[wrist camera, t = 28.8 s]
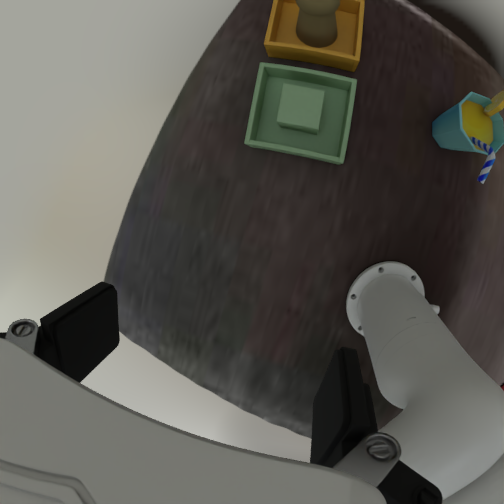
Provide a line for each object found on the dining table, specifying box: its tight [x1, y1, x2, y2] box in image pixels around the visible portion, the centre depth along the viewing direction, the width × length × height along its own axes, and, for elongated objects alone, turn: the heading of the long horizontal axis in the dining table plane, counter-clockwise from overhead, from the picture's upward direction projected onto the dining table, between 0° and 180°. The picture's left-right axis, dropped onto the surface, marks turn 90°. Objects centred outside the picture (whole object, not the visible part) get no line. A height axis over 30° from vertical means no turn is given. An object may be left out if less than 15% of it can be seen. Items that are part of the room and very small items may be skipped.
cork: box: [295, 0, 340, 48], centre depth 25 cm, size 6×6×11 cm
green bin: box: [244, 62, 357, 165], centre depth 33 cm, size 12×11×4 cm
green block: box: [276, 84, 325, 135], centre depth 32 cm, size 5×5×5 cm
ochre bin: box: [264, 0, 364, 72], centre depth 29 cm, size 12×11×4 cm
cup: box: [432, 90, 504, 184], centre depth 24 cm, size 14×8×15 cm, turn 156°
